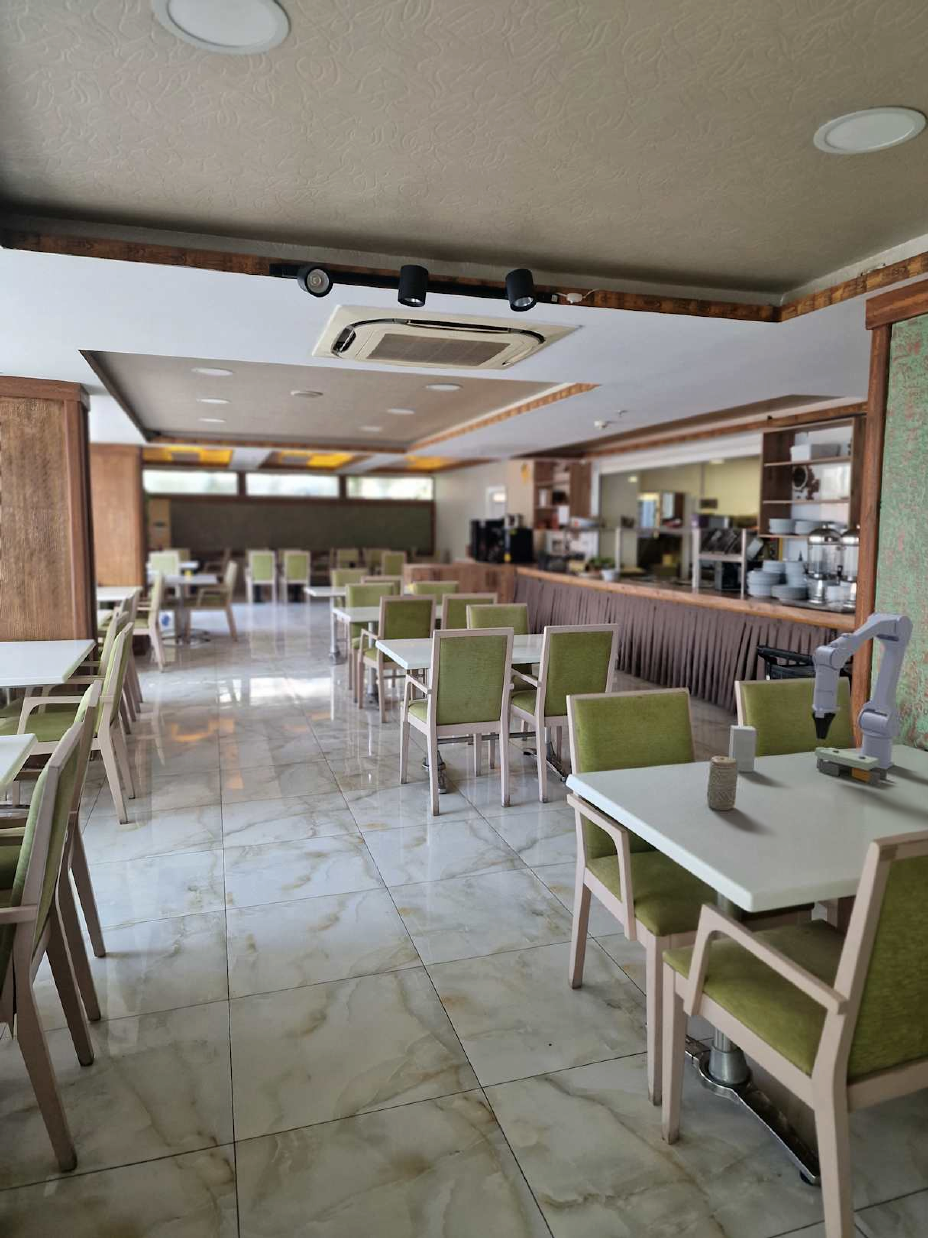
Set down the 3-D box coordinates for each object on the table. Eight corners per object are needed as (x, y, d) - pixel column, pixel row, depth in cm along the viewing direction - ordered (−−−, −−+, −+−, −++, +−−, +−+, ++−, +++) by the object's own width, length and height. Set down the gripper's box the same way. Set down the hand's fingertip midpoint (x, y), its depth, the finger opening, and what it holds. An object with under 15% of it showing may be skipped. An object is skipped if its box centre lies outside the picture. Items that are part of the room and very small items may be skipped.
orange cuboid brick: (856, 775, 212) (857, 767, 212) (875, 781, 208) (876, 773, 208) (851, 777, 211) (852, 768, 211) (870, 782, 207) (871, 774, 206)
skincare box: (749, 768, 215) (752, 726, 214) (753, 772, 211) (757, 730, 209) (727, 766, 216) (730, 724, 214) (730, 771, 211) (734, 728, 210)
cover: (821, 764, 221) (823, 744, 220) (876, 778, 210) (878, 757, 209) (810, 768, 216) (812, 748, 216) (866, 783, 205) (868, 761, 204)
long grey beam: (828, 766, 220) (829, 755, 219) (886, 779, 210) (887, 768, 209) (818, 771, 214) (819, 761, 214) (877, 785, 204) (878, 774, 203)
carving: (701, 807, 182) (704, 758, 180) (714, 800, 188) (717, 752, 186) (727, 815, 178) (731, 764, 176) (739, 806, 183) (743, 758, 182)
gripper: (837, 696, 201) (833, 747, 203) (846, 688, 213) (841, 735, 215) (809, 692, 205) (804, 742, 207) (818, 684, 217) (814, 731, 219)
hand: (821, 738), depth 211 cm, fingers closed
